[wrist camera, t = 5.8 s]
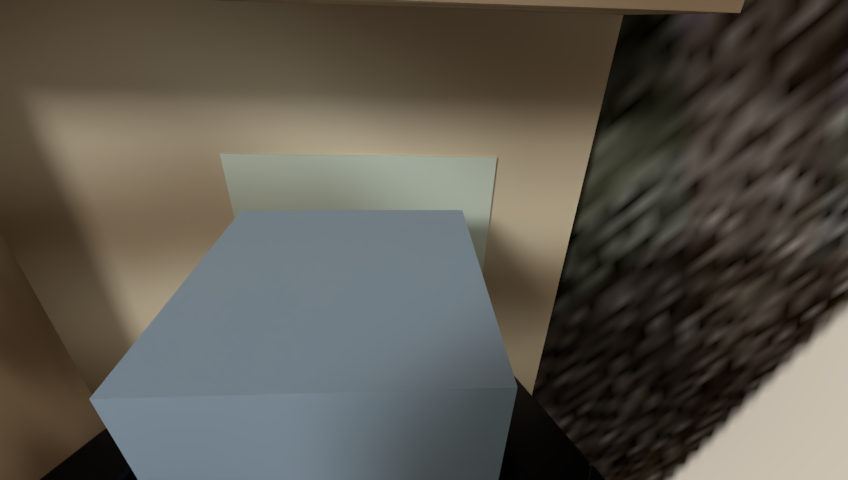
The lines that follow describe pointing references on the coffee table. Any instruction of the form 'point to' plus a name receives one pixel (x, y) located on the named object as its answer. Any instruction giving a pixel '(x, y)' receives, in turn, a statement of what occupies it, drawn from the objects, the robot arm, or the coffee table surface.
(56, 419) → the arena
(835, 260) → the coffee table surface
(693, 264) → the coffee table surface
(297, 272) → the cube
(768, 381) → the coffee table surface
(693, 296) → the coffee table surface
